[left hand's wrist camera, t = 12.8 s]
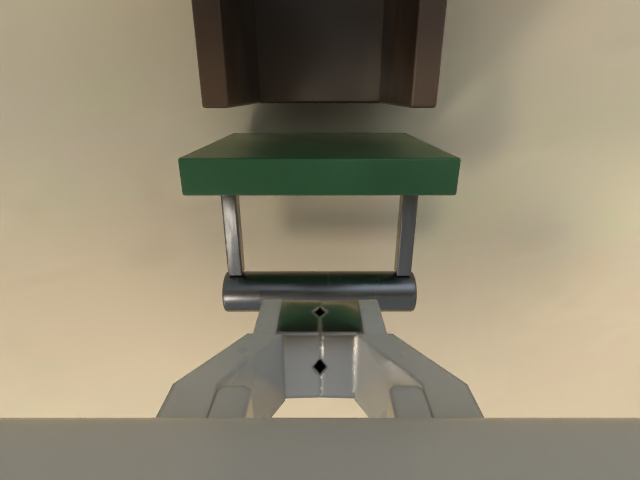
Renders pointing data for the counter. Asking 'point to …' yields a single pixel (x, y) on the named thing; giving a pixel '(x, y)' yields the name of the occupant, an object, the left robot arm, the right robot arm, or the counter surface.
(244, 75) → the drawer
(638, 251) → the counter surface
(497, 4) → the counter surface
